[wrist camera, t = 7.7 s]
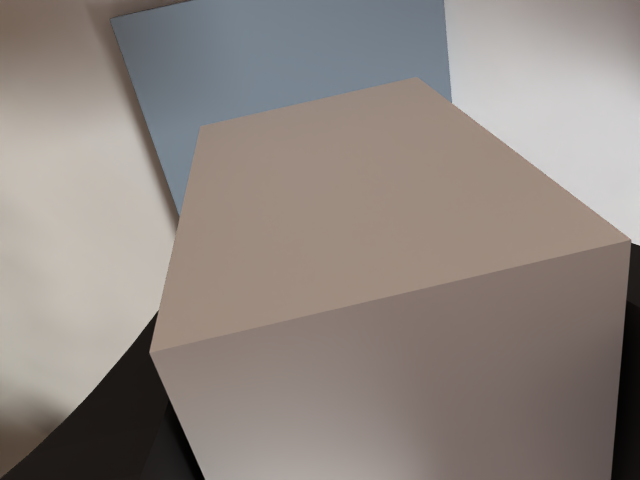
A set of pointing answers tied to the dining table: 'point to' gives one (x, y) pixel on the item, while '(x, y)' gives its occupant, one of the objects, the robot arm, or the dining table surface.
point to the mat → (268, 60)
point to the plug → (388, 301)
